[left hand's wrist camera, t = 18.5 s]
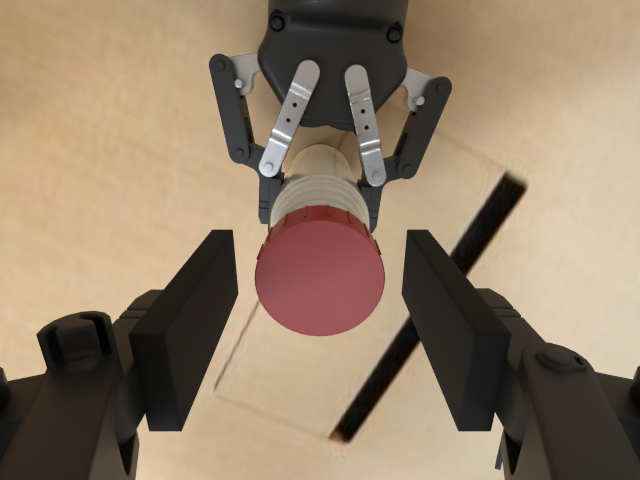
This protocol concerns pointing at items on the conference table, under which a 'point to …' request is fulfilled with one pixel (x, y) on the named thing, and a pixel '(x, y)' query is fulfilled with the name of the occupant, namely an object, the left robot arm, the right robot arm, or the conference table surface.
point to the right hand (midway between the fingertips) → (316, 232)
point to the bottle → (319, 184)
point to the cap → (319, 271)
